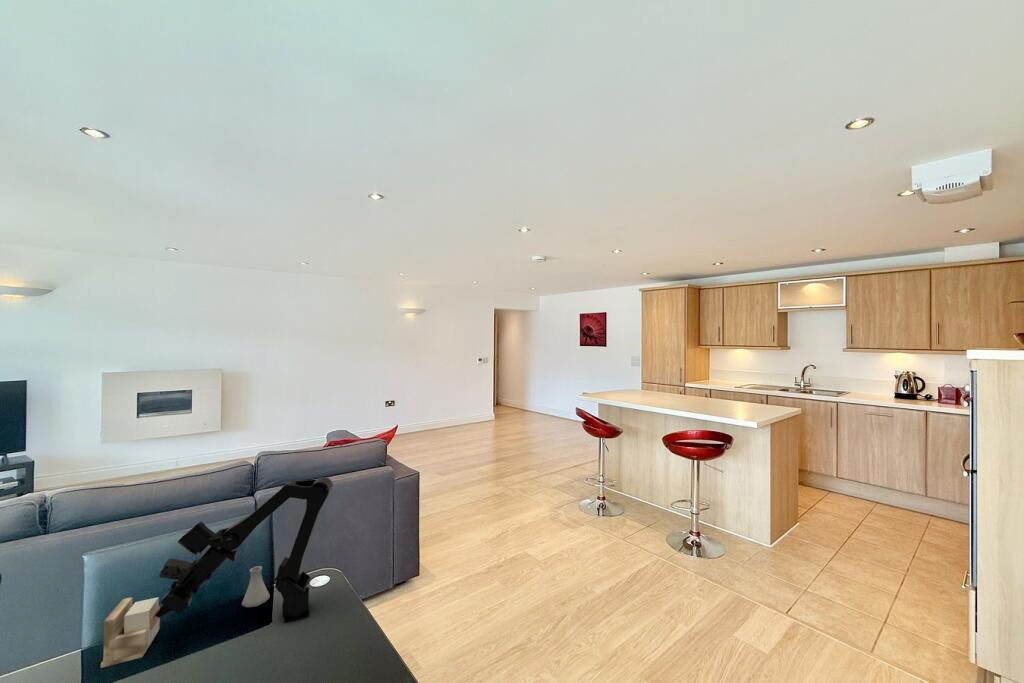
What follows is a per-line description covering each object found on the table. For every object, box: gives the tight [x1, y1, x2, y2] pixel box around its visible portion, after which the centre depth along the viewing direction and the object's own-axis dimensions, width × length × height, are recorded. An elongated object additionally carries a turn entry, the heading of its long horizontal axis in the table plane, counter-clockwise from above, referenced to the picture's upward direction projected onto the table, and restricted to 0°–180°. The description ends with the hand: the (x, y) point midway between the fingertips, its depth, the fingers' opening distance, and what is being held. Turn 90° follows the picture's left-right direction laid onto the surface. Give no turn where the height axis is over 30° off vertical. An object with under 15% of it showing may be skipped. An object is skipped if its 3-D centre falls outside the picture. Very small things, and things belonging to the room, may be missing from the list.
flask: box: [241, 565, 271, 608], centre depth 129 cm, size 7×7×10 cm
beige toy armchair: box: [100, 596, 161, 669], centre depth 109 cm, size 8×11×11 cm
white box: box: [124, 596, 161, 648], centre depth 110 cm, size 5×7×9 cm
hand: (157, 616), depth 111 cm, fingers closed, pressing on white box
